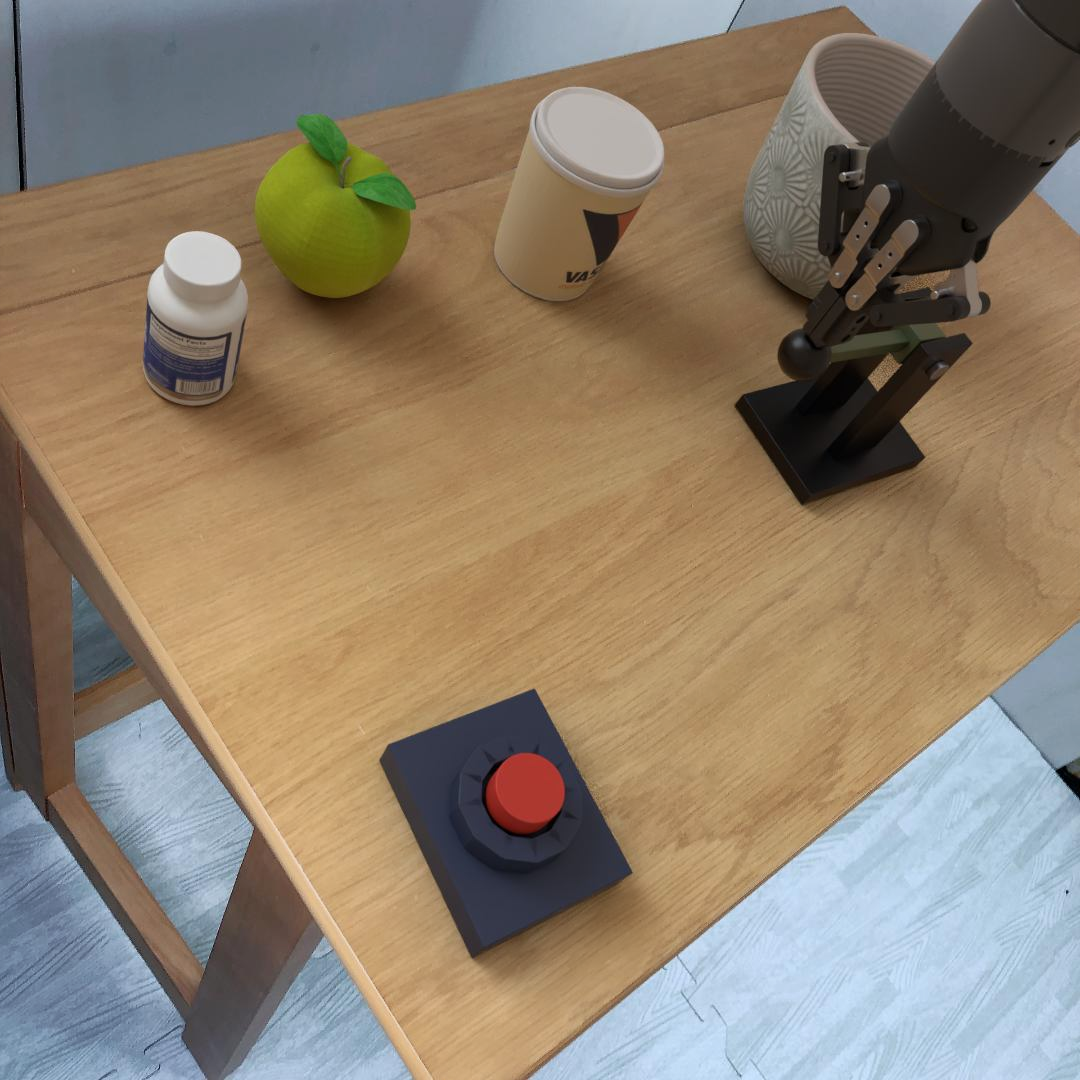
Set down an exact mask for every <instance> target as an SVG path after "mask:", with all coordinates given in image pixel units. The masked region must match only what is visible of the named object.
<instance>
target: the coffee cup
mask: <svg viewBox="0 0 1080 1080" xmlns="http://www.w3.org/2000/svg"><path fill="white" fill-rule="evenodd" d="M664 170H665V146H664V142H663V139H662V137H661V135H660V133H659V131H658V129H657V128H656V127H655V126H654V123H652V122H651V120H650V119H649V118H648V117H647V116H646V115H645V114H644V113H642V112H641V111H640V110H639V109H638V108H636V107H635V106H633V104H630V103H629V102H628V101H626V100H624V99H622V98H620V97H619V96H617V95H614V94H612V93H609V92H607V91H604V90H601V89H597V88H592V87H586V86H567V87H563V88H559V89H557V90H554V91H552V92H551V93H549V94H548V95H547V96H546V97H545V98H543V99H542V100H541V101H539V102H538V103H537V105H536V106H535V108H534V110H533V111H532V114H531V118H530V120H529V130H528V133H527V134H526V139H525V142H524V144H523V148H522V150H521V154H520V158H519V161H518V164H517V167H516V170H515V174H514V177H513V180H512V183H511V187H510V190H509V193H508V195H507V196H508V197H507V199H506V202H505V206H504V209H503V213H502V216H501V219H500V221H499V222H500V223H499V226H498V229H497V234H496V237H495V239H494V240H495V241H494V246H493V253H494V259H495V262H496V265H497V267H498V269H499V271H501V273H502V275H503V276H504V277H505V278H506V279H507V280H508V281H509V282H510V283H511V284H513V285H514V286H515V287H516V288H517V289H519V290H521V291H522V292H524V293H526V294H528V295H530V296H532V297H535V298H537V299H540V300H545V301H549V302H568V301H572V300H575V299H577V298H579V297H581V296H582V295H583V294H585V293H586V292H587V290H589V288H590V287H591V286H592V284H593V282H594V281H595V279H597V277H598V275H599V274H600V272H601V270H602V269H603V267H604V266H605V264H606V263H607V261H608V260H609V258H610V256H611V254H612V253H613V251H614V250H615V248H616V247H617V245H618V244H619V242H620V241H621V239H622V237H623V236H624V234H625V233H626V231H627V229H628V228H629V226H630V225H631V223H632V221H633V220H634V218H635V217H636V215H637V213H638V212H639V210H640V208H641V207H642V205H643V204H644V202H645V200H646V198H647V197H648V195H649V194H650V192H651V190H652V189H654V187H655V186H656V185H657V183H658V182H659V180H660V179H661V178H662V176H663V172H664Z"/></svg>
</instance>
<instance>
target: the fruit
mask: <svg viewBox="0 0 1080 1080" xmlns="http://www.w3.org/2000/svg"><path fill="white" fill-rule="evenodd" d="M296 126H297V127H298V128H299V130H300V131H301V132H302V134H303V135H304V137H305V138H306V139H307V140H308V142H304V143H301V144H298V145H296V146H295V147H293V148H290V149H289V150H288V151H287V152H285V154H283V155H282V156H281V157H280V158H279V159H277V161H276V162H275V163H274V164H273V165H272V166H271V167H270V168H269V170H268V171H267V172H266V174H265V175H264V177H263V179H262V181H261V183H260V184H259V187H258V189H257V193H256V195H255V201H254V220H255V225H256V230H257V233H258V235H259V238H260V241H261V243H262V245H263V247H264V249H265V251H266V253H267V255H268V256H269V257H270V259H271V260H272V262H273V263H274V265H275V266H276V268H278V270H279V271H280V272H281V273H282V274H283V276H285V277H286V278H287V279H288V280H289V281H290V282H291V283H292V284H293V285H295V286H296V287H297V288H299V289H300V290H302V291H304V292H305V293H308V294H311V295H314V296H318V297H323V298H330V299H340V298H346V297H351V296H354V295H358V294H360V293H362V292H365V291H367V290H369V289H371V288H372V287H374V286H376V285H377V284H378V283H380V282H381V281H383V280H384V279H385V278H386V277H387V276H389V274H390V273H391V272H392V271H393V270H394V268H395V267H396V266H397V264H398V263H399V261H400V260H401V259H402V257H403V255H404V253H405V250H406V248H407V245H408V242H409V239H410V235H411V226H412V225H411V211H414V210H416V209H417V202H416V200H415V199H414V197H413V194H411V192H410V190H409V189H408V188H407V186H406V184H405V183H403V181H401V180H400V179H399V178H398V177H397V176H395V174H394V172H392V170H391V169H390V168H389V166H388V165H387V164H386V163H385V161H384V160H383V159H382V158H380V157H378V156H376V155H374V154H373V153H370V152H368V151H366V150H364V149H362V148H360V147H359V146H357V145H355V144H353V143H351V142H348V140H347V138H346V136H345V134H344V133H343V131H342V130H341V129H340V127H339V126H338V125H337V124H336V123H335V122H334V120H332V118H330V117H329V116H328V115H327V114H322V113H311V114H309V113H308V114H301V115H300V116H299V117H298V118H297V119H296Z"/></svg>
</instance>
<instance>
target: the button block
mask: <svg viewBox="0 0 1080 1080" xmlns="http://www.w3.org/2000/svg"><path fill="white" fill-rule="evenodd" d="M520 753H532V754H536V755H539V756H541V757H543V758H545V759H547V760H548V761H549V762H551V763H552V764H553V765H554V766H555V767H556V769H557V770H558V771H559V773H560V775H561V777H562V779H563V783H564V787H565V798H564V802H563V805H562V807H561V809H560V811H559V812H558V813H557V814H556V815H555V816H554V817H553V818H552V819H551V820H550V821H549V822H548V823H547V824H546V825H545V826H544V827H543V828H542V829H540V830H539V831H537V832H534V833H530V834H517V833H513V832H510V831H508V830H506V829H504V828H503V827H501V826H500V825H499V824H498V823H497V822H496V821H495V820H494V819H493V817H492V816H491V814H490V812H489V810H488V807H487V803H486V788H487V785H488V782H489V780H490V779H491V777H492V776H493V775H494V773H495V772H496V771H497V770H498V768H499V767H500V766H501V765H502V763H503V762H504V761H505V760H507V759H508V758H509V757H511V756H513V755H516V754H520ZM378 762H379V763H380V765H381V768H382V770H383V772H384V774H385V776H386V778H387V780H388V783H389V785H390V787H391V789H392V791H393V793H394V795H395V797H396V800H397V802H398V804H399V806H400V809H401V810H402V813H403V815H404V817H405V819H406V821H407V824H408V825H409V828H410V830H411V831H412V834H413V836H414V838H415V840H416V843H417V845H418V847H419V849H420V851H421V853H422V855H423V857H424V859H425V862H426V864H427V866H428V868H429V870H430V872H431V874H432V877H433V879H434V881H435V883H436V885H437V888H438V889H439V892H440V894H441V896H442V898H443V900H444V902H445V904H446V907H447V909H448V911H449V914H450V915H451V917H452V920H453V922H454V924H455V926H456V928H457V930H458V932H459V935H460V937H461V938H462V940H463V943H464V945H465V947H466V950H467V952H468V954H469V956H470V958H471V959H474V958H476V957H477V956H480V955H481V954H484V953H486V952H487V951H490V950H491V949H493V948H495V947H497V946H499V945H501V944H503V943H505V942H507V941H509V940H511V939H514V938H515V937H517V936H519V935H521V934H523V933H525V932H527V931H529V930H531V929H533V928H535V927H537V926H539V925H541V924H543V923H544V922H546V921H549V920H550V919H553V918H554V917H557V916H558V915H560V914H563V913H564V912H566V911H568V910H570V909H572V908H574V907H577V906H578V905H581V904H582V903H584V902H586V901H588V900H589V899H592V898H594V897H596V896H598V895H600V894H601V893H604V892H605V891H608V890H610V889H611V888H613V887H615V886H617V885H619V884H620V883H621V882H623V881H624V880H625V879H627V878H628V877H629V876H630V875H632V874H633V870H632V868H631V866H630V864H629V862H628V860H627V859H626V857H625V855H624V853H623V851H622V849H621V847H620V846H619V843H618V842H617V840H616V837H615V836H614V835H613V833H612V831H611V828H610V827H609V825H608V823H607V821H606V819H605V817H604V815H603V813H602V812H601V810H600V807H599V806H598V805H597V802H596V800H595V799H594V797H593V795H592V793H591V791H590V789H589V788H588V786H587V783H586V781H585V780H584V777H583V776H582V774H581V773H580V770H579V769H578V766H577V765H576V763H575V761H574V758H573V757H572V756H571V753H570V752H569V749H568V748H567V746H566V744H565V743H564V741H563V738H562V737H561V735H560V733H559V731H558V729H557V727H556V725H555V723H554V722H553V720H552V718H551V716H550V714H549V712H548V710H547V709H546V707H545V705H544V703H543V701H542V699H541V697H540V695H539V693H538V692H537V690H536V688H532V689H529V690H527V691H524V692H522V693H519V694H516V695H513V696H511V697H509V698H505V699H503V700H500V701H498V702H495V703H492V704H490V705H488V706H485V707H481V708H480V709H477V710H474V711H472V712H469V713H467V714H464V715H461V716H459V717H456V718H453V719H450V720H448V721H445V722H443V723H440V724H438V725H435V726H433V727H430V728H427V729H425V730H422V731H419V732H417V733H414V734H411V735H409V736H406V737H404V738H402V739H399V740H398V739H397V740H396V741H393V742H391V743H388V745H387V746H386V748H385V749H384V750H383V753H382V754H381V756H380V758H379V760H378Z"/></svg>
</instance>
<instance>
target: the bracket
mask: <svg viewBox="0 0 1080 1080" xmlns="http://www.w3.org/2000/svg"><path fill="white" fill-rule="evenodd" d="M932 291H933V290H932V289H931V288H930V287H923V288H919V289H914V290H909V291H905V292H899V293H897V294H896V295H898V296H899V297H901V298H902V299H906V298H917V297H927V296H931V292H932ZM892 327H893V326H887V327H876V326H874V325H873V324H872V323H871V321H870V318H869V319H868V320H867V321H866V322H865V324H864V325H863V326H862V327H861V329H859V331H858V332H857V333H856V335H855V336H857V335H864V334H871V333H877V332H884V331H889V330H890V329H891V328H892ZM973 344H974V343H973V341H972V340H971V339H970V338H969V336H968V335H967V334H966V333H965V332H961V333H958V334H954V335H949V336H946V337H945V338H941V339H937V340H934V341H930V342H926V343H922V344H920V345H919V346H918V347H917V348H916V349H915V350H914V352H913V353H912V354H911V355H910V356H909V357H908V358H907V359H906V361H905V362H904V363H903V364H900V366H899V367H898V368H897V369H896V371H895V372H894V373H893V374H892V375H891V376H890V377H889V378H888V380H886V381H885V383H884V384H883V385H882V386H881V387H880V389H878V390H877V388H876V387H875V386H874V384H873V383H872V382H871V380H870V379H869V378H870V376H871V375H872V374H873V373H874V371H875V370H876V369H877V368H878V367H879V366H880V365H881V364H882V362H883V361H884V360H885V359H886V358H887V356H888V355H889V354H890V353H887V354H881V355H874V356H868V357H862V358H856V359H850V360H844V361H838V362H831V363H830V365H829V367H828V368H827V370H826V371H825V372H824V373H823V374H822V375H821V376H820V377H818V378H816V379H814V380H812V381H807V382H800V381H796V380H793V381H789V382H785V383H782V384H781V383H780V384H777V385H774V386H769V387H766V388H762V389H761V388H760V389H759V390H754V391H749V392H746V393H742V394H741V396H740V397H739V399H738V400H737V401H736V402H735V404H734V407H735V408H736V409H737V411H738V412H739V414H740V416H741V418H742V419H743V420H744V421H745V423H746V424H747V426H748V427H749V429H750V430H751V432H752V434H753V435H754V437H755V438H756V439H757V441H758V442H759V444H760V445H761V447H762V448H763V450H764V451H765V453H766V454H767V456H768V457H769V459H770V461H771V462H772V464H773V465H774V467H775V468H776V469H777V471H778V473H779V474H780V475H781V477H782V478H783V480H784V482H785V483H786V484H787V486H788V487H789V489H790V490H791V491H792V493H793V495H794V496H795V498H796V499H797V501H798V502H799V504H800V505H801V506H803V505H806V504H810V503H813V502H816V501H819V500H821V499H824V498H828V497H831V496H833V495H836V494H839V493H840V494H841V493H843V492H845V491H849V490H851V489H854V488H855V489H856V488H858V487H861V486H863V485H867V484H870V483H872V482H876V481H878V480H882V479H884V478H888V477H891V476H894V475H897V474H899V473H902V472H905V471H908V470H912V469H914V468H917V467H918V466H919V465H920V464H921V463H922V462H923V461H924V460H925V459H926V455H925V454H924V453H923V451H922V450H921V449H920V447H919V446H918V445H917V443H916V442H915V441H914V439H913V438H912V436H911V435H910V434H909V432H908V430H906V428H905V427H904V426H903V424H902V423H901V421H902V419H903V418H904V417H905V416H906V415H907V414H908V413H909V412H911V410H912V409H913V408H914V407H916V405H917V403H919V402H920V400H921V399H922V398H923V397H924V396H925V395H927V393H928V392H929V391H930V390H931V389H932V388H933V387H934V386H935V385H936V383H937V382H939V381H940V380H941V378H942V377H943V376H944V375H946V373H947V372H948V371H949V370H950V369H951V368H952V367H953V366H954V364H956V363H957V361H958V360H959V359H960V358H961V357H962V356H963V355H964V354H965V353H966V352H967V351H968V350H969V348H971V347H972V345H973Z"/></svg>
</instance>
